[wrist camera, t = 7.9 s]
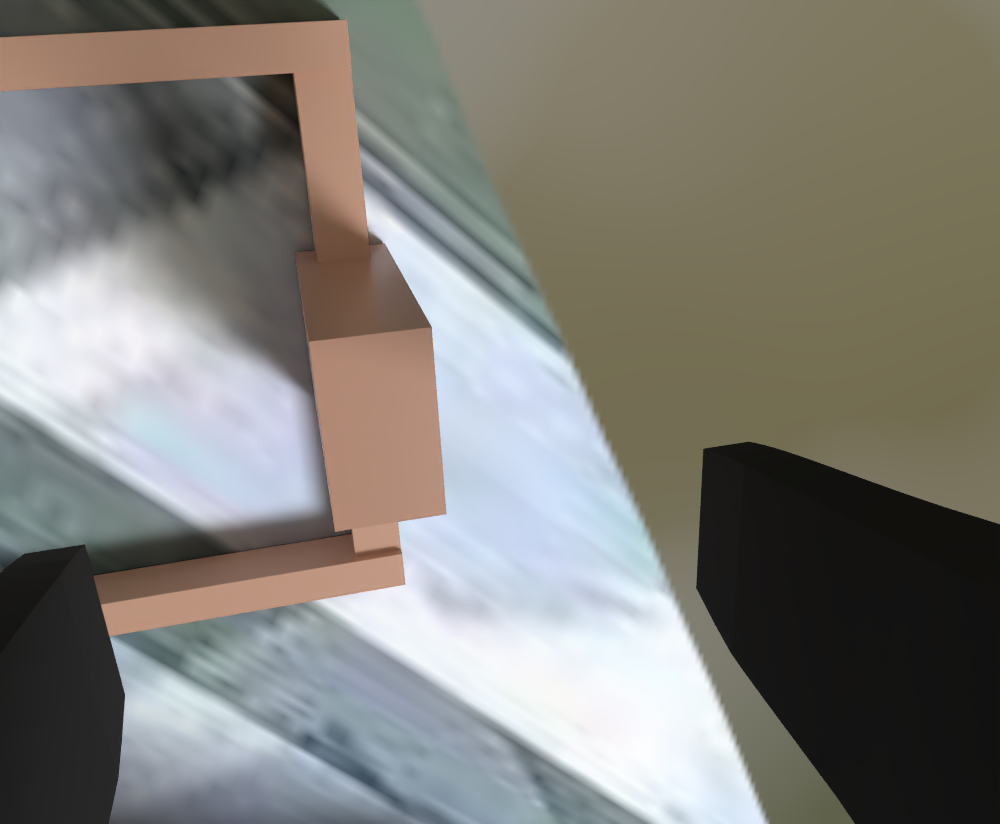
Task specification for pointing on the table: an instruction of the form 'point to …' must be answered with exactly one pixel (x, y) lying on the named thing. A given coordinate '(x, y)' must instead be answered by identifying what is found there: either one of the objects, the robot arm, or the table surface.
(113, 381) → the table surface
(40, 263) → the table surface
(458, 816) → the table surface
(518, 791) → the table surface
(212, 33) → the cup sled
